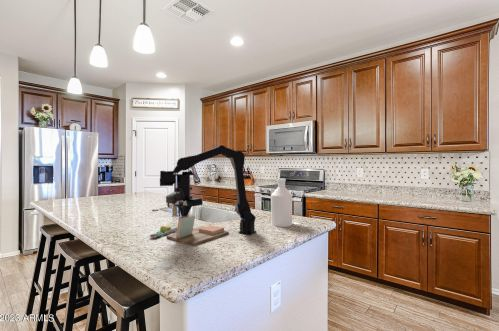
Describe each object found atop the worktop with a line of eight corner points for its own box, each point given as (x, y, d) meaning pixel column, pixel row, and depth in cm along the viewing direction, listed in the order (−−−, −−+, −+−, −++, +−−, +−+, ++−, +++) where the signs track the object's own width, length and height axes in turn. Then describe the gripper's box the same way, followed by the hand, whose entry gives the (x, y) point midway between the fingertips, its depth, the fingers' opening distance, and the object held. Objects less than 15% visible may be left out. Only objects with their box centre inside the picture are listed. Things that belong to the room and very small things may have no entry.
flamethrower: (141, 237, 122) (158, 241, 118) (141, 231, 122) (158, 235, 118) (180, 224, 149) (196, 227, 145) (181, 220, 149) (196, 222, 145)
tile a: (210, 228, 134) (224, 231, 128) (198, 232, 127) (212, 234, 122) (210, 225, 134) (224, 227, 128) (198, 228, 127) (212, 231, 122)
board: (228, 233, 128) (228, 231, 128) (194, 245, 110) (194, 242, 110) (202, 228, 139) (202, 226, 139) (166, 238, 121) (166, 235, 121)
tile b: (192, 233, 124) (195, 215, 123) (178, 237, 118) (181, 218, 116) (189, 232, 125) (192, 214, 124) (175, 236, 119) (178, 217, 117)
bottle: (266, 224, 146) (266, 179, 146) (277, 220, 156) (277, 177, 155) (286, 227, 139) (286, 179, 139) (296, 223, 149) (296, 178, 149)
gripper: (155, 185, 120) (156, 220, 120) (183, 188, 109) (183, 226, 109) (175, 183, 129) (176, 216, 129) (203, 185, 118) (203, 221, 118)
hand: (184, 219), depth 121 cm, fingers closed
